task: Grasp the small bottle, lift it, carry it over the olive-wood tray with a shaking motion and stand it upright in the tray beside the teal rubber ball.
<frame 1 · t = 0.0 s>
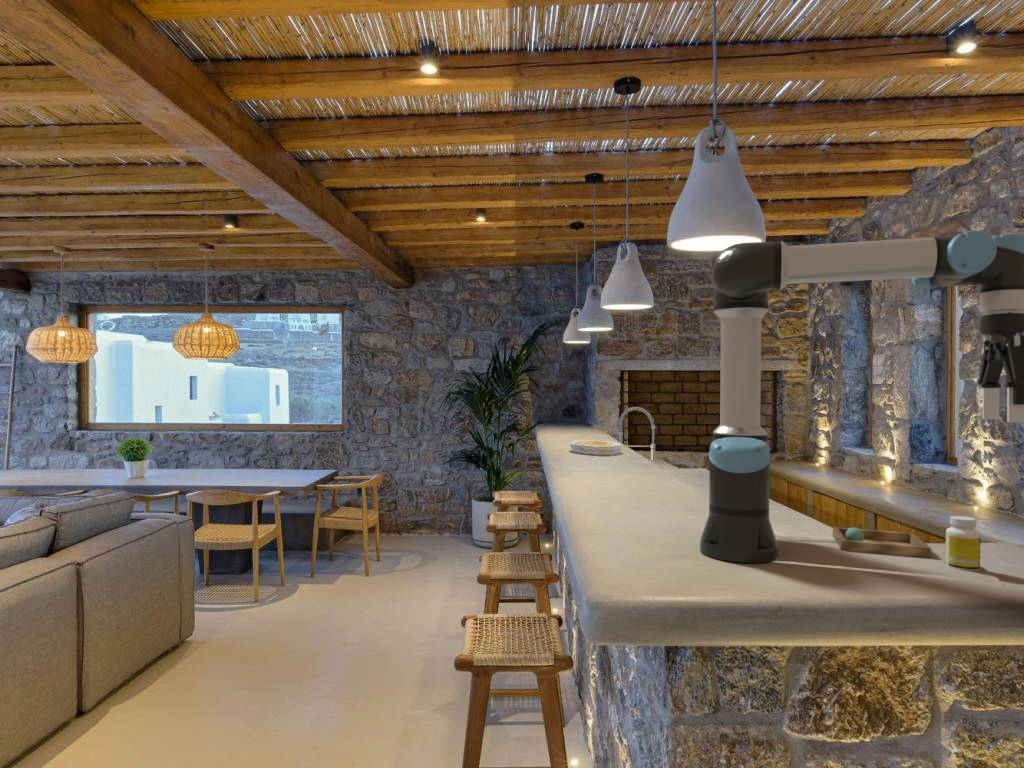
hand: (1003, 420, 127), 28 cm above the table, fingers open, 13 cm apart
tray: (878, 548, 136), on the table
supplement bottle: (962, 570, 121), on the table
ball: (854, 543, 138), point 1 cm above the table, touching tray
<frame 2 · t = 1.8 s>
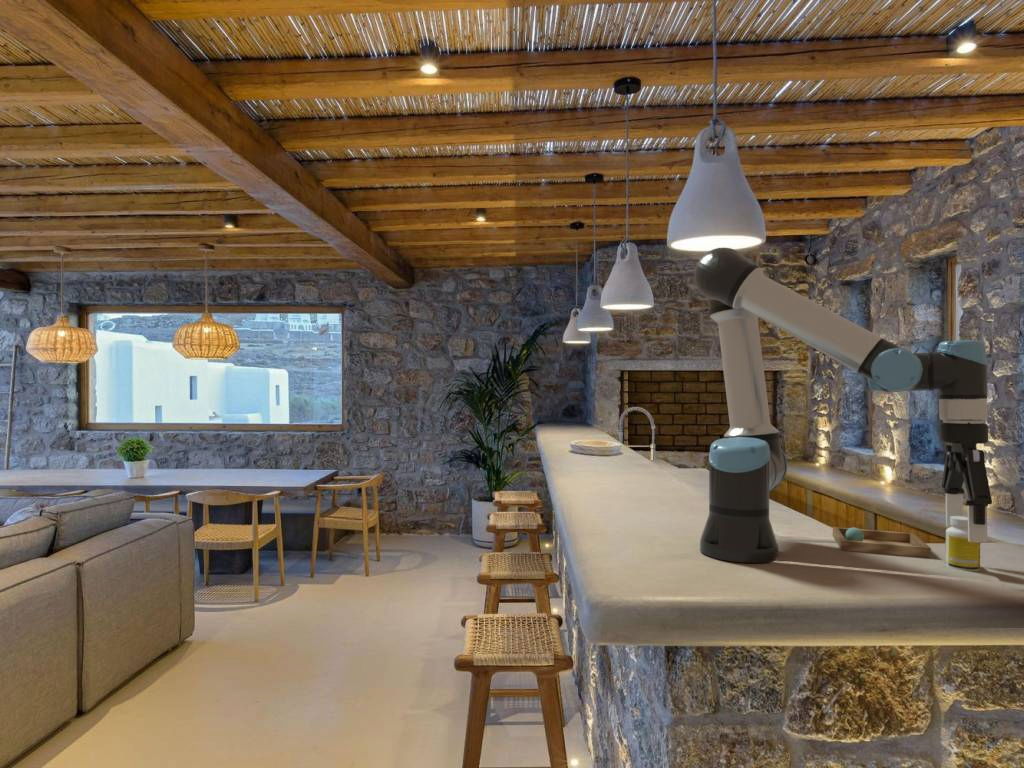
hand: (965, 534, 121), 7 cm above the table, fingers open, 13 cm apart
nothing on the table moved.
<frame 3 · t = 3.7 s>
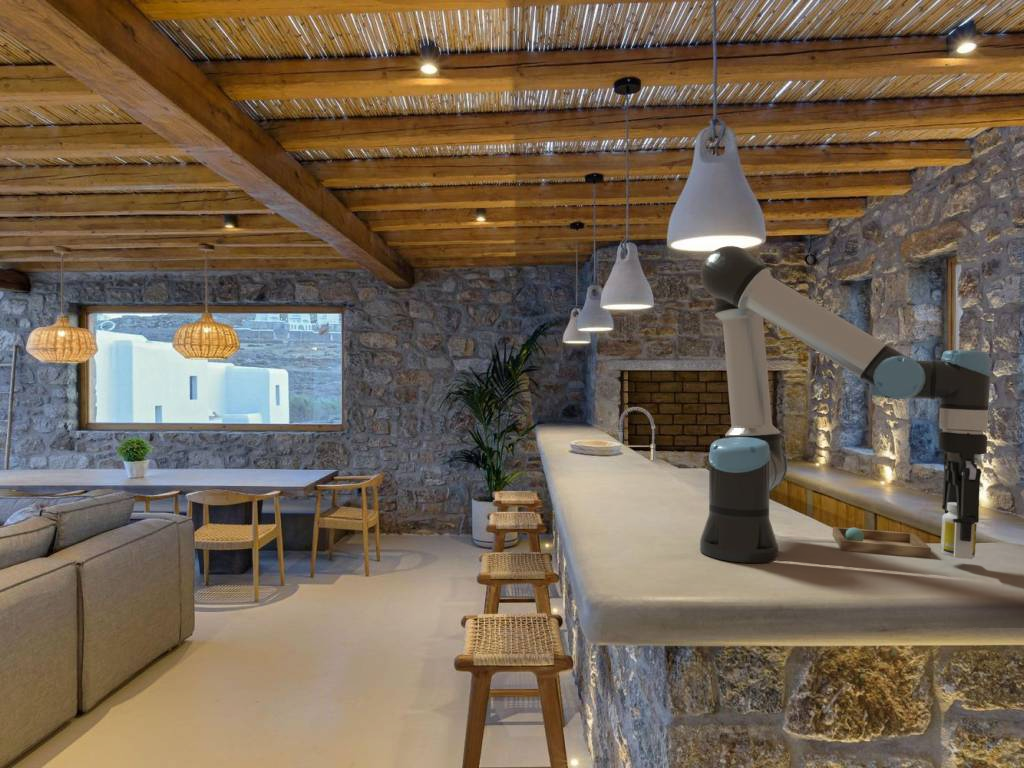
hand: (957, 553, 121), 3 cm above the table, fingers closed on supplement bottle, 5 cm apart
supplement bottle: (957, 556, 121), point 2 cm above the table, touching gripper
everything else where it was.
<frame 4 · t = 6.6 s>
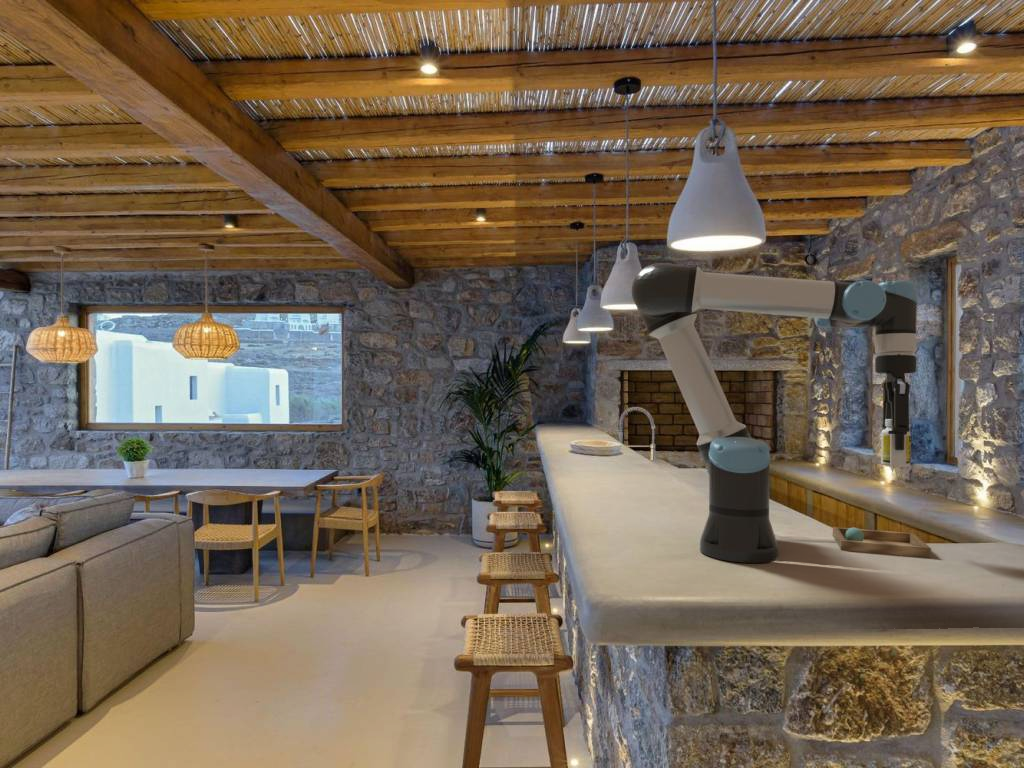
hand: (894, 463, 135), 18 cm above the table, fingers closed on supplement bottle, 5 cm apart
supplement bottle: (895, 466, 135), point 18 cm above the table, touching gripper
everything else where it was.
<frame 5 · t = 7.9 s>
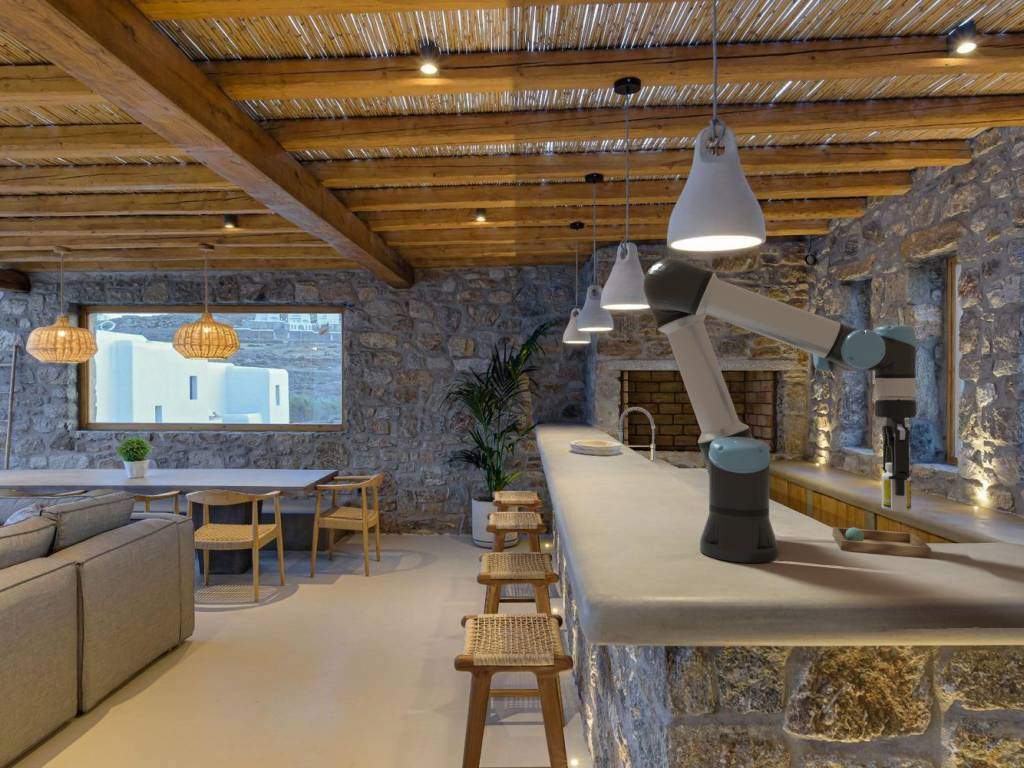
hand: (895, 508, 135), 9 cm above the table, fingers closed on supplement bottle, 5 cm apart
supplement bottle: (896, 510, 135), point 8 cm above the table, touching gripper
everything else where it was.
when the fingers open (2 cm above the table, at t = 9.3 s): supplement bottle stays where it is, resting on tray.
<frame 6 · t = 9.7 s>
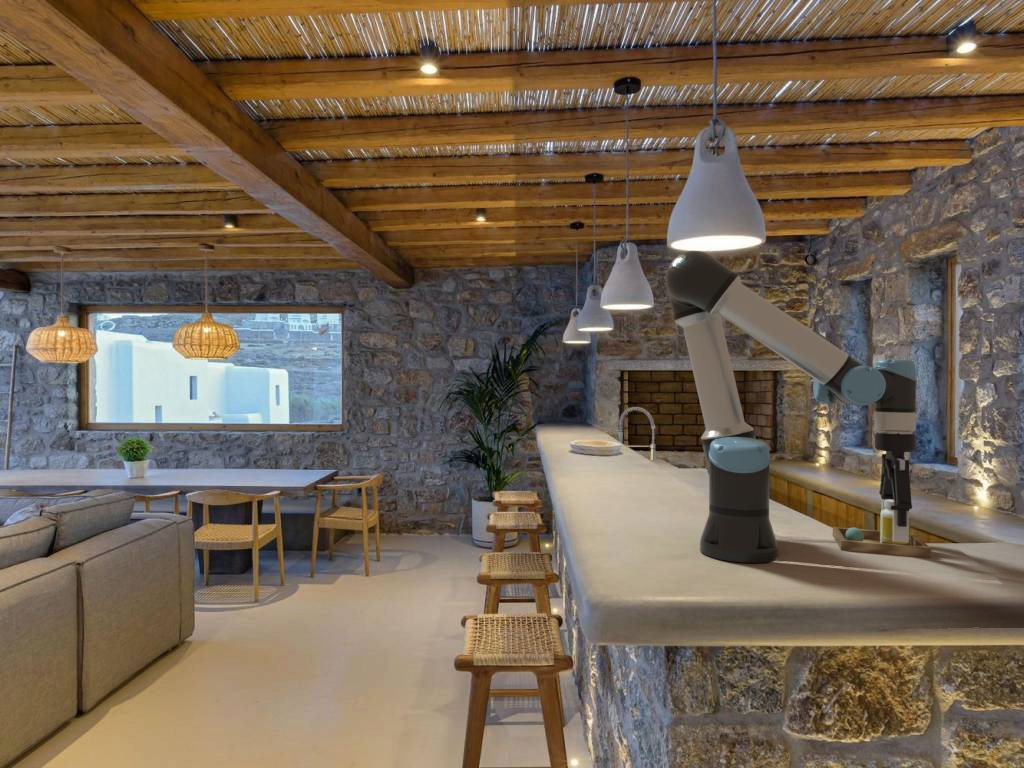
hand: (894, 535, 135), 3 cm above the table, fingers open, 11 cm apart
supplement bottle: (894, 548, 135), resting on tray
everything else where it was.
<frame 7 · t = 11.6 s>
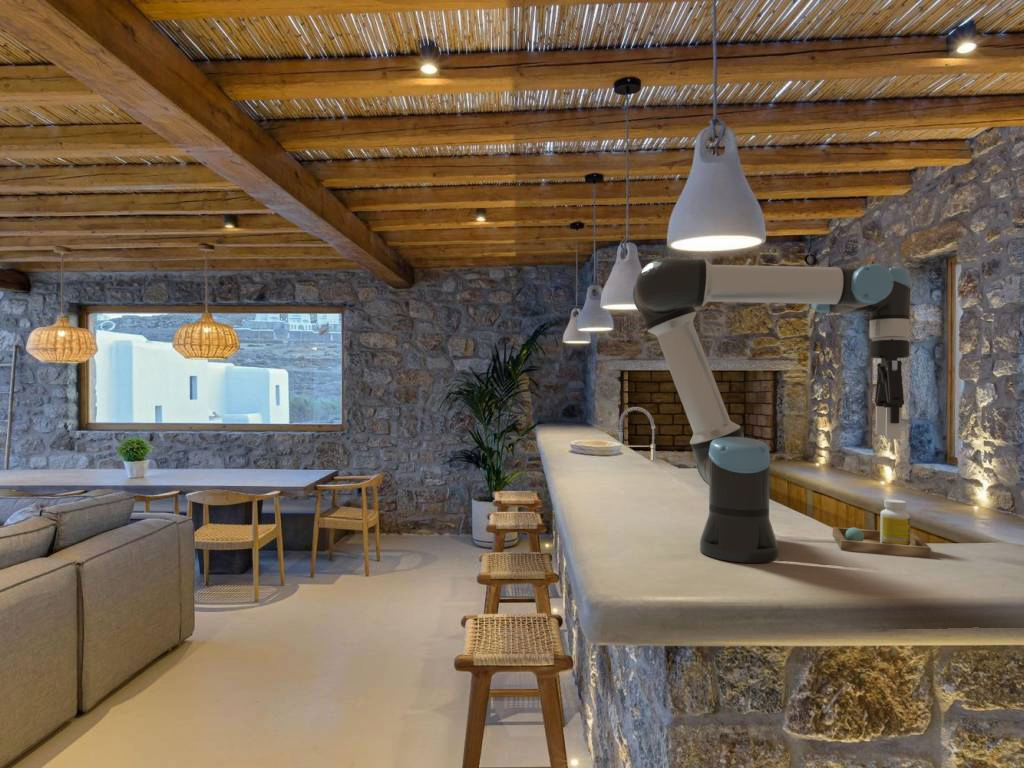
hand: (887, 437, 139), 24 cm above the table, fingers open, 13 cm apart
nothing on the table moved.
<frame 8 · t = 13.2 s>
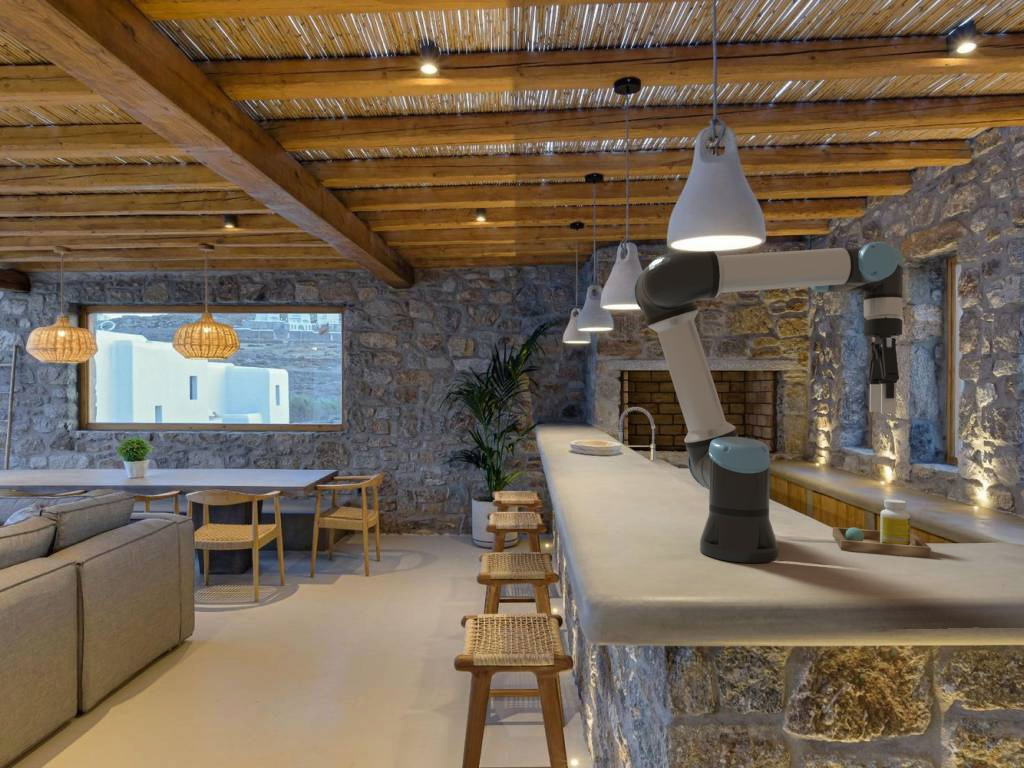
hand: (882, 413, 143), 29 cm above the table, fingers open, 13 cm apart
nothing on the table moved.
at the end: supplement bottle inside the target area on the tray (3.1 cm from its centre), point 0.4 cm above the tray's base; supplement bottle tilted 0°; the gripper is holding nothing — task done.
